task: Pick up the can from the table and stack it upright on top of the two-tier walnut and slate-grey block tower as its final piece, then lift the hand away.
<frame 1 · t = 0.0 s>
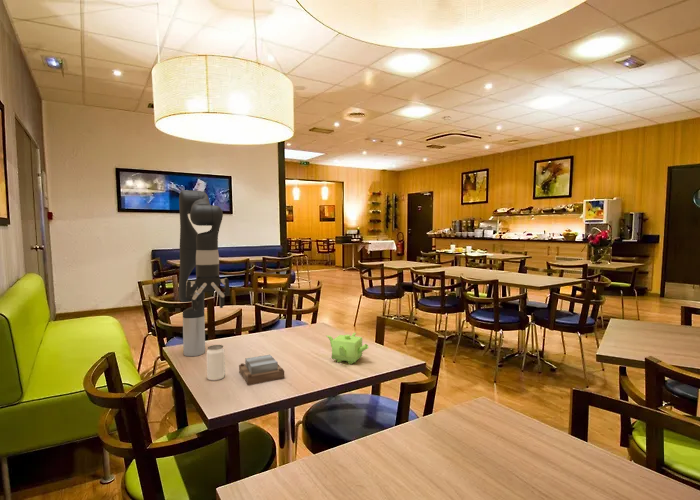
hand: (208, 308, 134), 29 cm above the table, tool pointing down, fingers open, 8 cm apart
can: (216, 378, 147), on the table
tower: (261, 375, 150), on the table
kettle: (347, 360, 168), on the table
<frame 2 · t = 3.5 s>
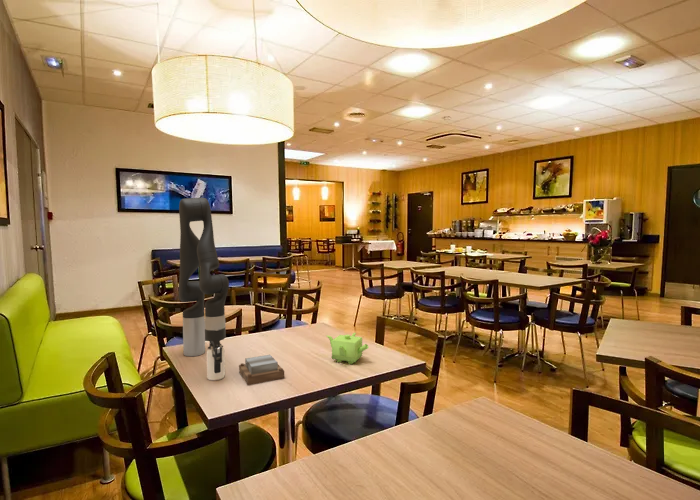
hand: (215, 369, 147), 3 cm above the table, tool pointing down, fingers closed on can, 6 cm apart
can: (216, 378, 147), on the table, touching gripper
everything else where it was.
when the fingers open (11 cm above the table, at t = 10.0 s): can drops 1 cm, resting on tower.
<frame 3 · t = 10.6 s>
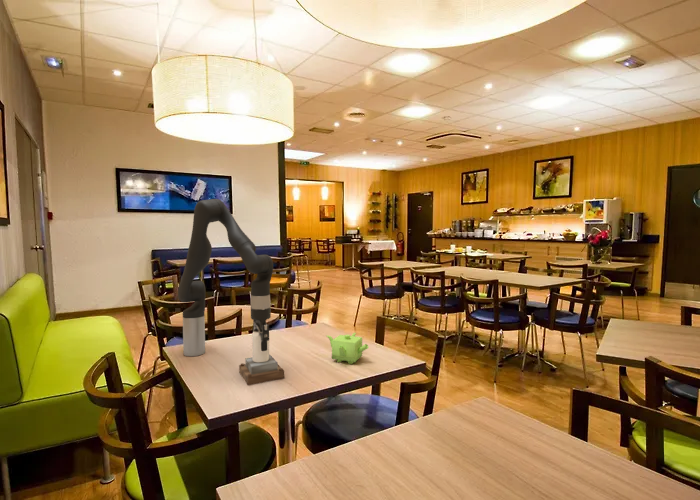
hand: (261, 347, 149), 11 cm above the table, tool pointing down, fingers open, 8 cm apart
can: (260, 360, 149), point 6 cm above the table, touching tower
everything else where it was.
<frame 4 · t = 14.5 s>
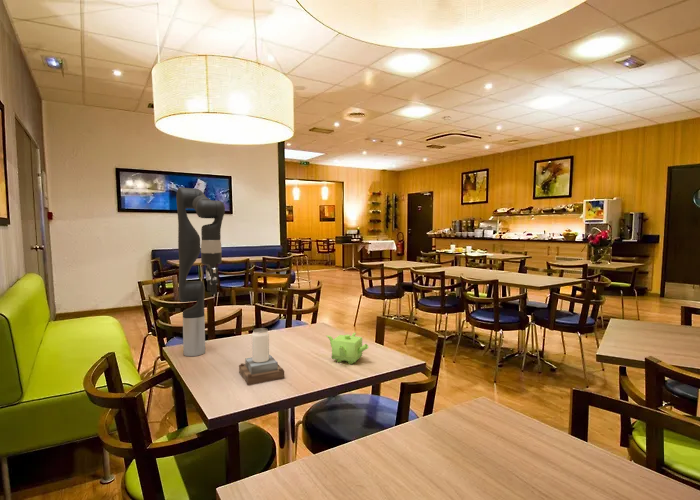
hand: (212, 292, 151), 32 cm above the table, tool pointing down, fingers open, 8 cm apart
nothing on the table moved.
at the end: can 0.1 cm off-centre on the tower, point 5.8 cm above the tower's base; can tilted 0°; the gripper is holding nothing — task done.
